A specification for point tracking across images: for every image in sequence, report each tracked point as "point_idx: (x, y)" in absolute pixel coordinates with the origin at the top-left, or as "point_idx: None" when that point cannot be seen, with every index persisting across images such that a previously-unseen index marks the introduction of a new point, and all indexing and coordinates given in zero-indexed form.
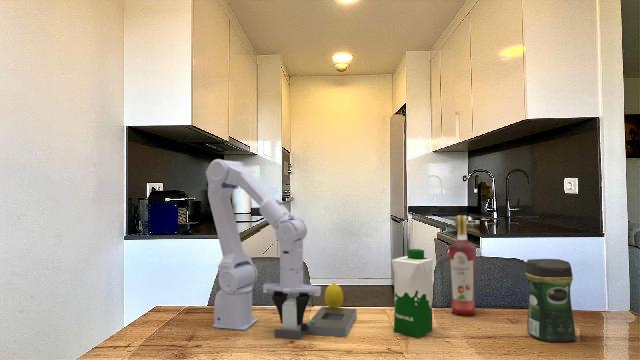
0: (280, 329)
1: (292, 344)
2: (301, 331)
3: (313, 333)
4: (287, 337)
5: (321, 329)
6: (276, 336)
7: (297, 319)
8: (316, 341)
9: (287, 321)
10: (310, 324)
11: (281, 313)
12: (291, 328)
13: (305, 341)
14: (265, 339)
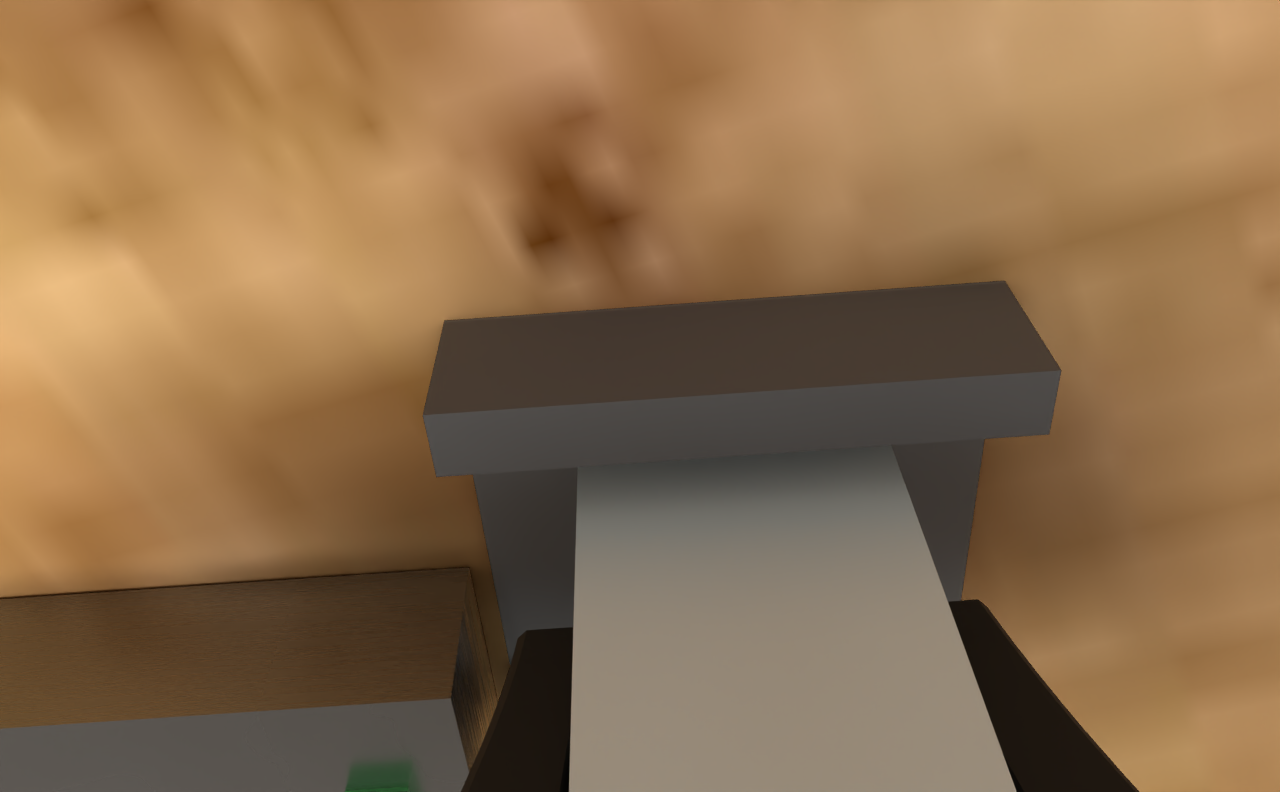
0: (932, 424)
1: (485, 58)
2: None
3: (319, 595)
4: (723, 314)
5: (134, 673)
6: (975, 295)
7: (561, 715)
8: (101, 353)
9: (814, 623)
10: (384, 746)
11: (1045, 786)
12: (694, 519)
13: (304, 290)
14: (1191, 133)
